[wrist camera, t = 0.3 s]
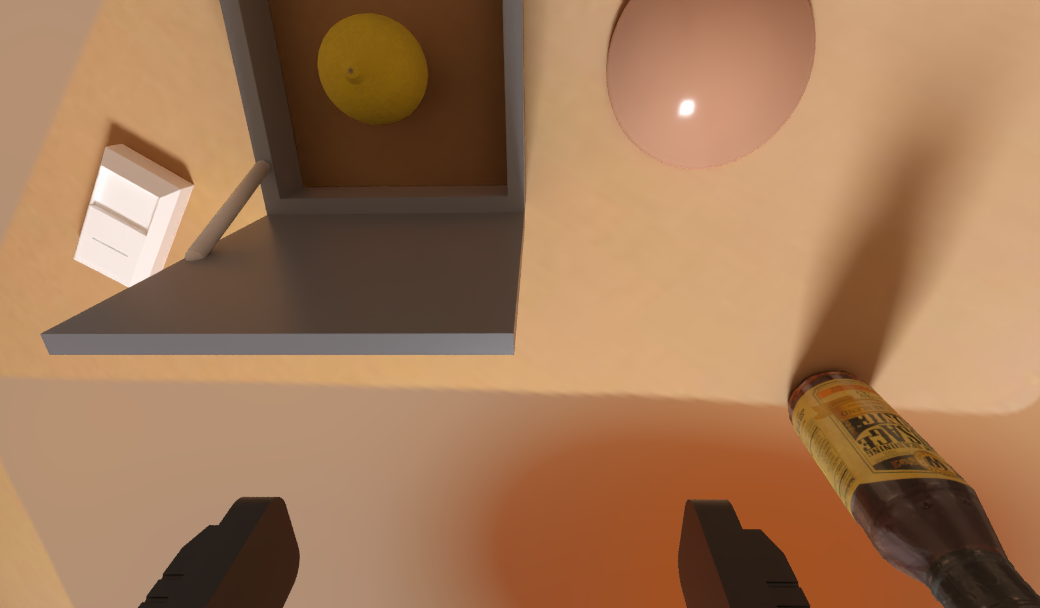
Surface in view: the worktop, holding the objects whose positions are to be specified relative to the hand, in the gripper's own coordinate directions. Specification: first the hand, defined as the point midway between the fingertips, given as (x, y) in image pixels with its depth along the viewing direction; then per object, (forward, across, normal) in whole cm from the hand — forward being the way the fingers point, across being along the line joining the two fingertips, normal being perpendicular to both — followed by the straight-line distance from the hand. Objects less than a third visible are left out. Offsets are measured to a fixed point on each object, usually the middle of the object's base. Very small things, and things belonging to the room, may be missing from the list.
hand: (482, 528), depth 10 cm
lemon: (+27, +8, -8) cm, 29 cm away
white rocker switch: (+28, +27, +1) cm, 38 cm away
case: (+27, +8, -8) cm, 29 cm away
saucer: (+27, -11, -8) cm, 30 cm away
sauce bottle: (+27, -23, +16) cm, 39 cm away
